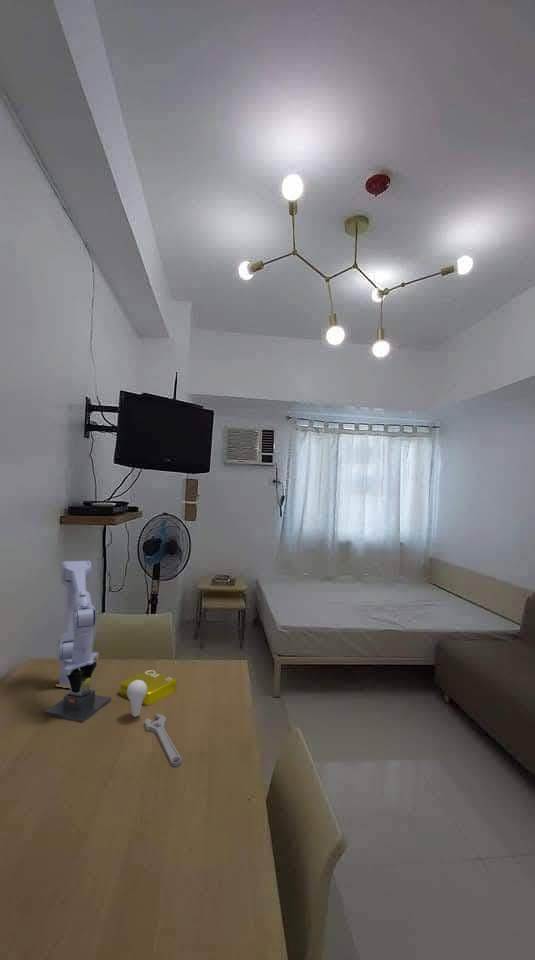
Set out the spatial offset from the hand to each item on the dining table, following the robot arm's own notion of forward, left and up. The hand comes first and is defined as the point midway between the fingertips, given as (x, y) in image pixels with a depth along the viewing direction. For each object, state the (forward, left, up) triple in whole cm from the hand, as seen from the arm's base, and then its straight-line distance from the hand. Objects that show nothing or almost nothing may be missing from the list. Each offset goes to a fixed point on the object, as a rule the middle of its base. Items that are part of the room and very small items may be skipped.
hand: (80, 688), depth 134 cm
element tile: (-17, +15, -7) cm, 24 cm away
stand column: (0, 0, -5) cm, 5 cm away
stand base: (0, 0, -6) cm, 6 cm away
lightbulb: (-1, +20, -6) cm, 21 cm away
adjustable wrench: (+8, +34, -6) cm, 35 cm away
